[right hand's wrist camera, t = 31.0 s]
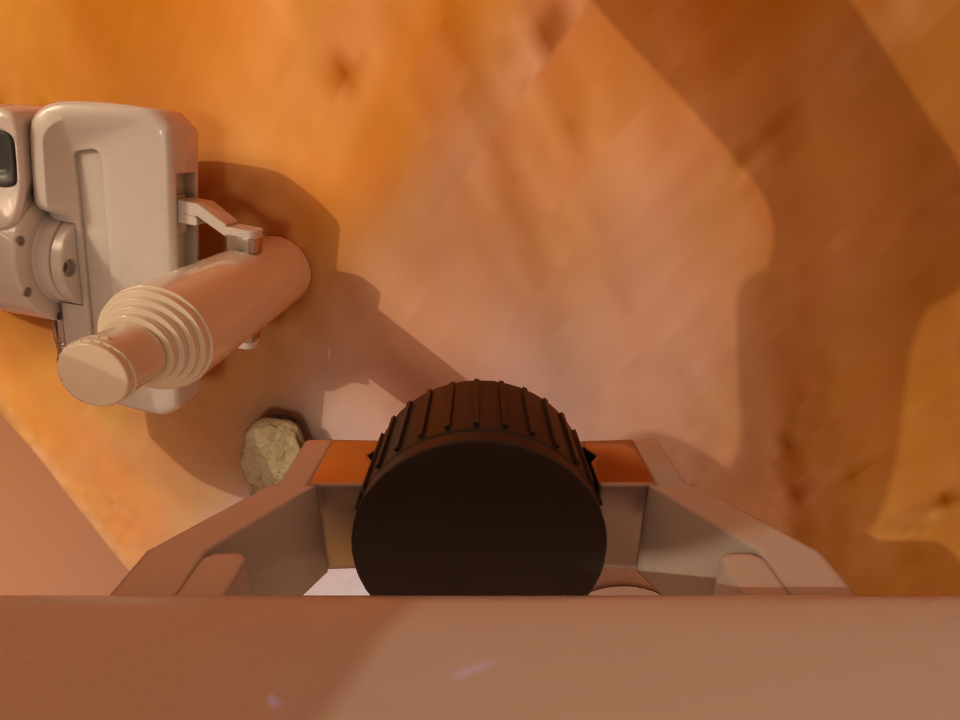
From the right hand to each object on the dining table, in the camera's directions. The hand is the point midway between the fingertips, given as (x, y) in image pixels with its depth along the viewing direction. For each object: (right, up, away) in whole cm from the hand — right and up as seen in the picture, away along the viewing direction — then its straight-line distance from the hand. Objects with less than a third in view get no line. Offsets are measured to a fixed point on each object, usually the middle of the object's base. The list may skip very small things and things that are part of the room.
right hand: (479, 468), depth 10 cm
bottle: (-16, +9, +29) cm, 35 cm away
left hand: (-15, +7, +24) cm, 29 cm away
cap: (0, -1, -2) cm, 2 cm away
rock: (-16, -7, +36) cm, 40 cm away
